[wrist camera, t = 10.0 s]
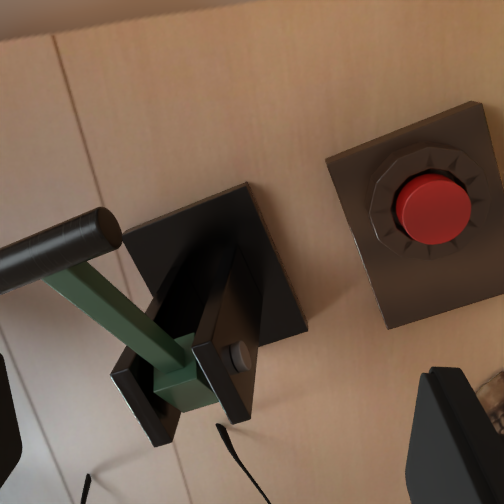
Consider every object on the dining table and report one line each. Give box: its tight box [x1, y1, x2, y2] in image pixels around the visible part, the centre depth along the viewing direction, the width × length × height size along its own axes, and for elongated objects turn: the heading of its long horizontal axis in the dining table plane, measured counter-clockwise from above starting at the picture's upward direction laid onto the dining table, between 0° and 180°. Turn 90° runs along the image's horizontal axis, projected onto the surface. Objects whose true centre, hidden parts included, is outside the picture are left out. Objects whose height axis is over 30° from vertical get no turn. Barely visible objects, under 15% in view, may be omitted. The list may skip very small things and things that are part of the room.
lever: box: [0, 207, 219, 413], centre depth 19 cm, size 12×5×2 cm, turn 23°
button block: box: [325, 101, 504, 330], centre depth 29 cm, size 12×9×4 cm
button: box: [396, 173, 471, 245], centre depth 26 cm, size 4×4×2 cm
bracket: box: [110, 182, 308, 447], centre depth 27 cm, size 11×9×13 cm
